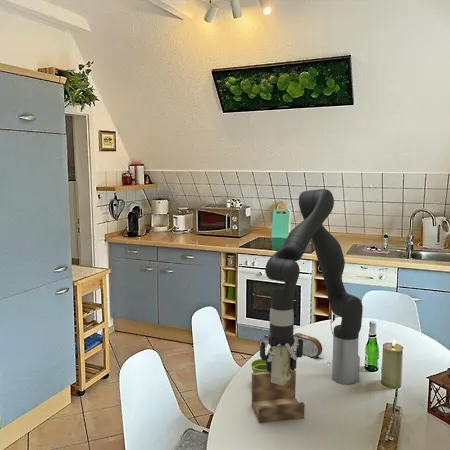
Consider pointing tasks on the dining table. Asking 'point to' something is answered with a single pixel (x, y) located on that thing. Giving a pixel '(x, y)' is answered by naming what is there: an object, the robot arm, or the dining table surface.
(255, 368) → the plant pot
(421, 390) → the dining table surface
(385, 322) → the dining table surface
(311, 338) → the tin
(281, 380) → the skincare box
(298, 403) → the wooden holder
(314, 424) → the dining table surface
